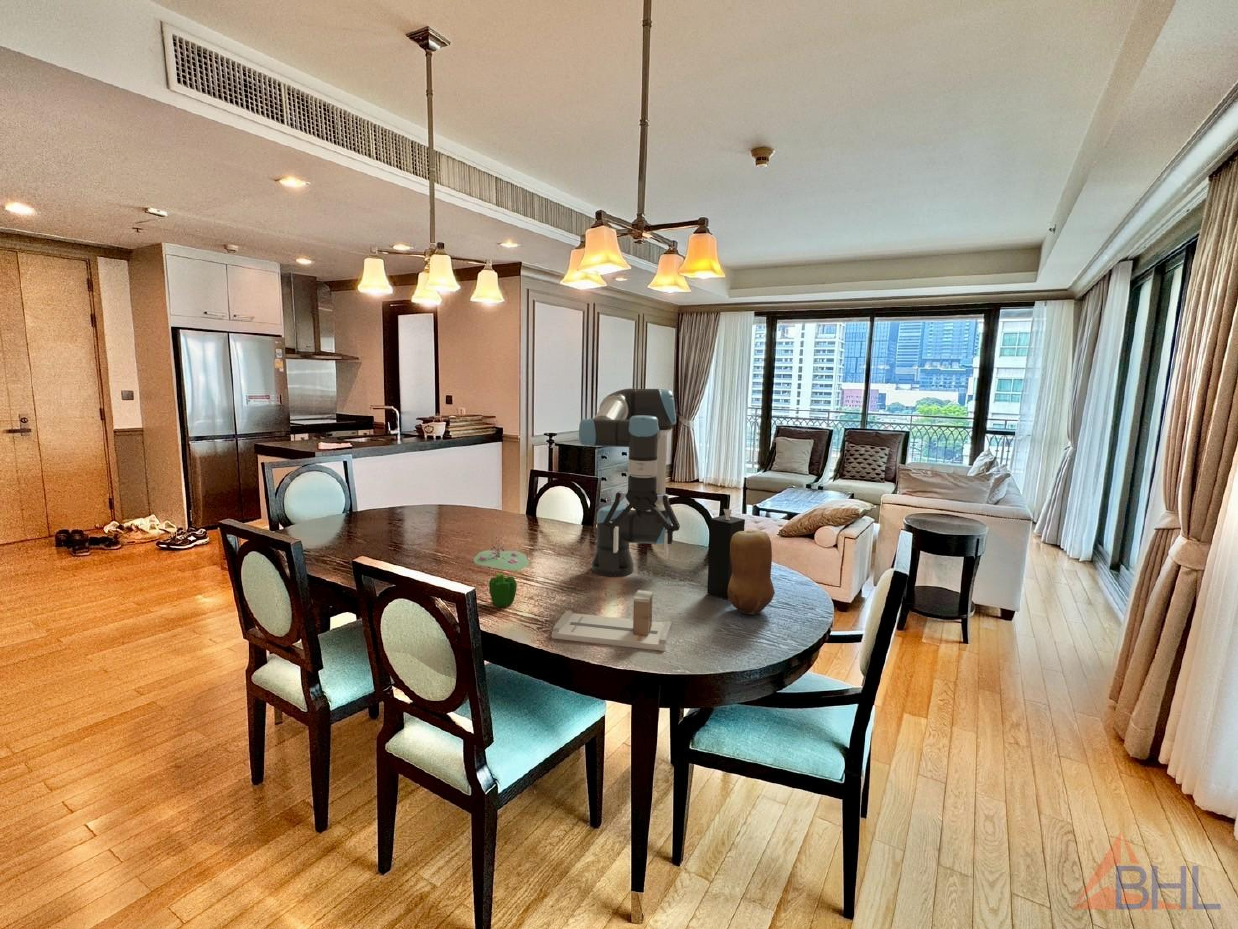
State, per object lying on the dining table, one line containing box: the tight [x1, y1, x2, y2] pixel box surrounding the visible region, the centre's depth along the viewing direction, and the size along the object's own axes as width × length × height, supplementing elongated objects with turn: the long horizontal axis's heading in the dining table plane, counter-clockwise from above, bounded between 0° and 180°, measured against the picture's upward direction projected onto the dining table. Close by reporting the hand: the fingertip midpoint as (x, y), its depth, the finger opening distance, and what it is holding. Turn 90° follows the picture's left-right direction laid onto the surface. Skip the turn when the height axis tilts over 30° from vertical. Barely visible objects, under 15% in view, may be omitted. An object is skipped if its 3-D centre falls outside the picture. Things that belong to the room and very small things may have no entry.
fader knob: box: [632, 589, 653, 636], centre depth 157 cm, size 6×4×10 cm, turn 168°
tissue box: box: [706, 508, 746, 600], centre depth 189 cm, size 8×8×28 cm
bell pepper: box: [488, 572, 518, 608], centre depth 179 cm, size 8×8×10 cm
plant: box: [473, 536, 531, 572], centre depth 221 cm, size 25×21×9 cm
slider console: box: [551, 610, 673, 652], centre depth 160 cm, size 14×30×2 cm, turn 78°
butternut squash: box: [728, 529, 776, 616], centre depth 174 cm, size 14×13×25 cm
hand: (640, 553), depth 159 cm, fingers open, 13 cm apart
